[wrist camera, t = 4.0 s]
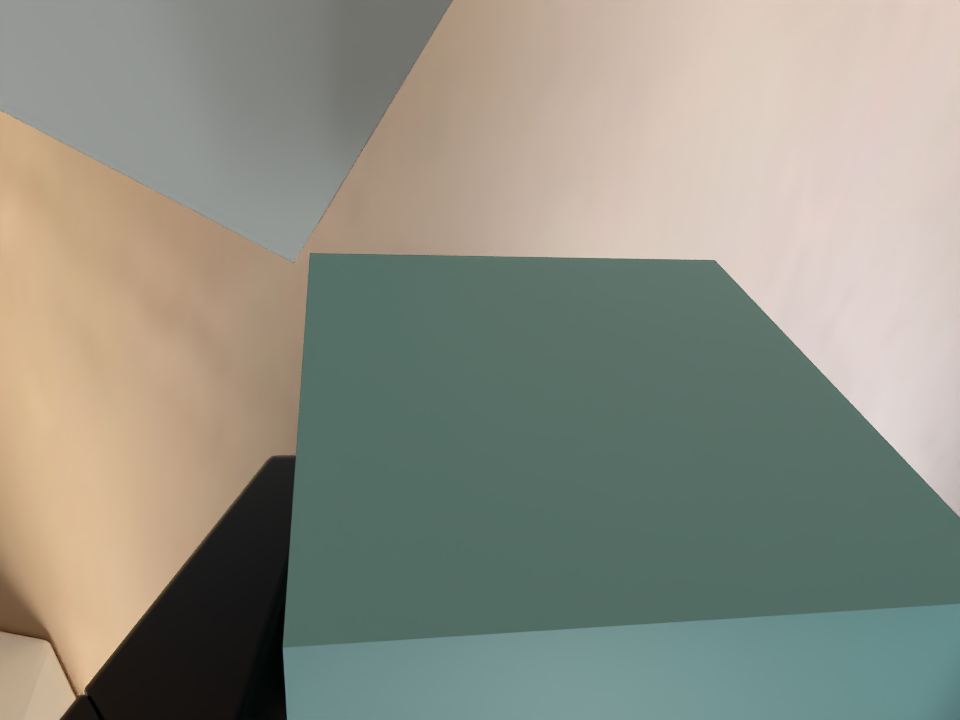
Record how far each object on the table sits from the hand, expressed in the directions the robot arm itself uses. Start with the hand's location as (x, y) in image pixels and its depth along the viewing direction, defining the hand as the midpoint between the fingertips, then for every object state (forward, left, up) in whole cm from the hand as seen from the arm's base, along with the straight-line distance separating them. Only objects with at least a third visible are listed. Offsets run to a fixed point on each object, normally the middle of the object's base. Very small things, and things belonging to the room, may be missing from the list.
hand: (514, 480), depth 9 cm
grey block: (+2, +5, -8) cm, 10 cm away
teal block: (0, 0, -1) cm, 1 cm away
